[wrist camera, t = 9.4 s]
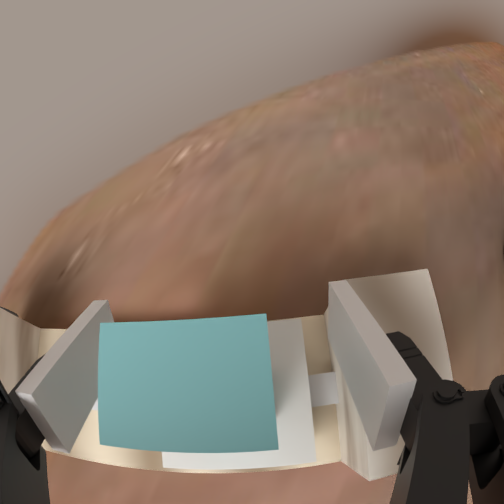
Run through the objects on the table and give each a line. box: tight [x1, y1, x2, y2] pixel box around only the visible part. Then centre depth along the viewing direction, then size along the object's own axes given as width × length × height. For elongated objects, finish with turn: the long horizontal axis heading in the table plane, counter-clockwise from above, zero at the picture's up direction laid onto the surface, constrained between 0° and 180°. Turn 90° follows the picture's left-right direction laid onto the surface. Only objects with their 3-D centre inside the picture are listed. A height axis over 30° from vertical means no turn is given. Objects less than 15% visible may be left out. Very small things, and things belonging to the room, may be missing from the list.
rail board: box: [0, 269, 453, 481], centre depth 16 cm, size 32×10×8 cm, turn 94°
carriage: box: [98, 313, 317, 470], centre depth 12 cm, size 8×8×13 cm
